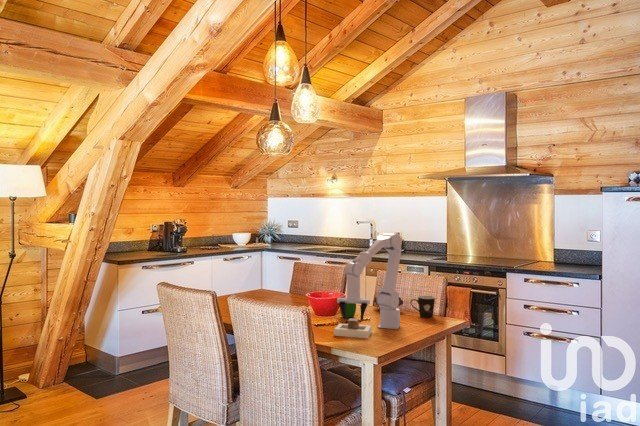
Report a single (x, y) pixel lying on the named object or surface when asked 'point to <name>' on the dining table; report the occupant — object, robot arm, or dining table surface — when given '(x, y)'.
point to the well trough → (353, 331)
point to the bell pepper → (349, 310)
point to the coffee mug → (425, 306)
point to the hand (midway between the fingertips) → (353, 319)
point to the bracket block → (353, 323)
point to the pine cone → (389, 293)
